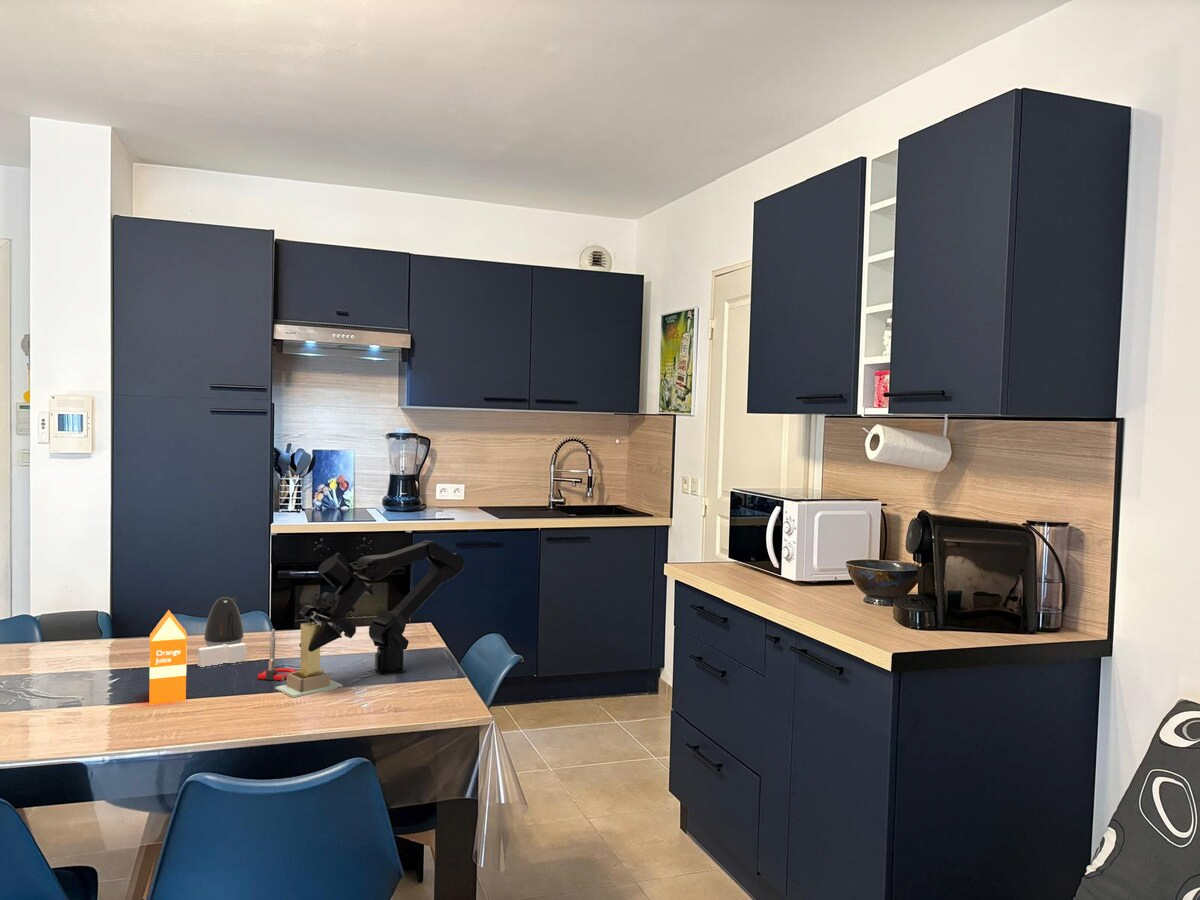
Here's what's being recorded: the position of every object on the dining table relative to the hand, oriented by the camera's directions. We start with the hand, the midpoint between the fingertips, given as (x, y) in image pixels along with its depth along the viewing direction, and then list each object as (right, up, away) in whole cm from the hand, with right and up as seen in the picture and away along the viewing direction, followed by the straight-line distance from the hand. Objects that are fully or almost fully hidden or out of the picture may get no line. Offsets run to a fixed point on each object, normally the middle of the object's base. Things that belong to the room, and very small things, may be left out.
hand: (305, 649), depth 211 cm
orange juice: (-29, -10, -9) cm, 32 cm away
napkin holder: (-28, -9, +20) cm, 36 cm away
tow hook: (-11, -10, +11) cm, 18 cm away
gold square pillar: (+1, -7, +1) cm, 7 cm away
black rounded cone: (-35, -8, +34) cm, 49 cm away
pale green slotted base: (+1, -10, +1) cm, 10 cm away
